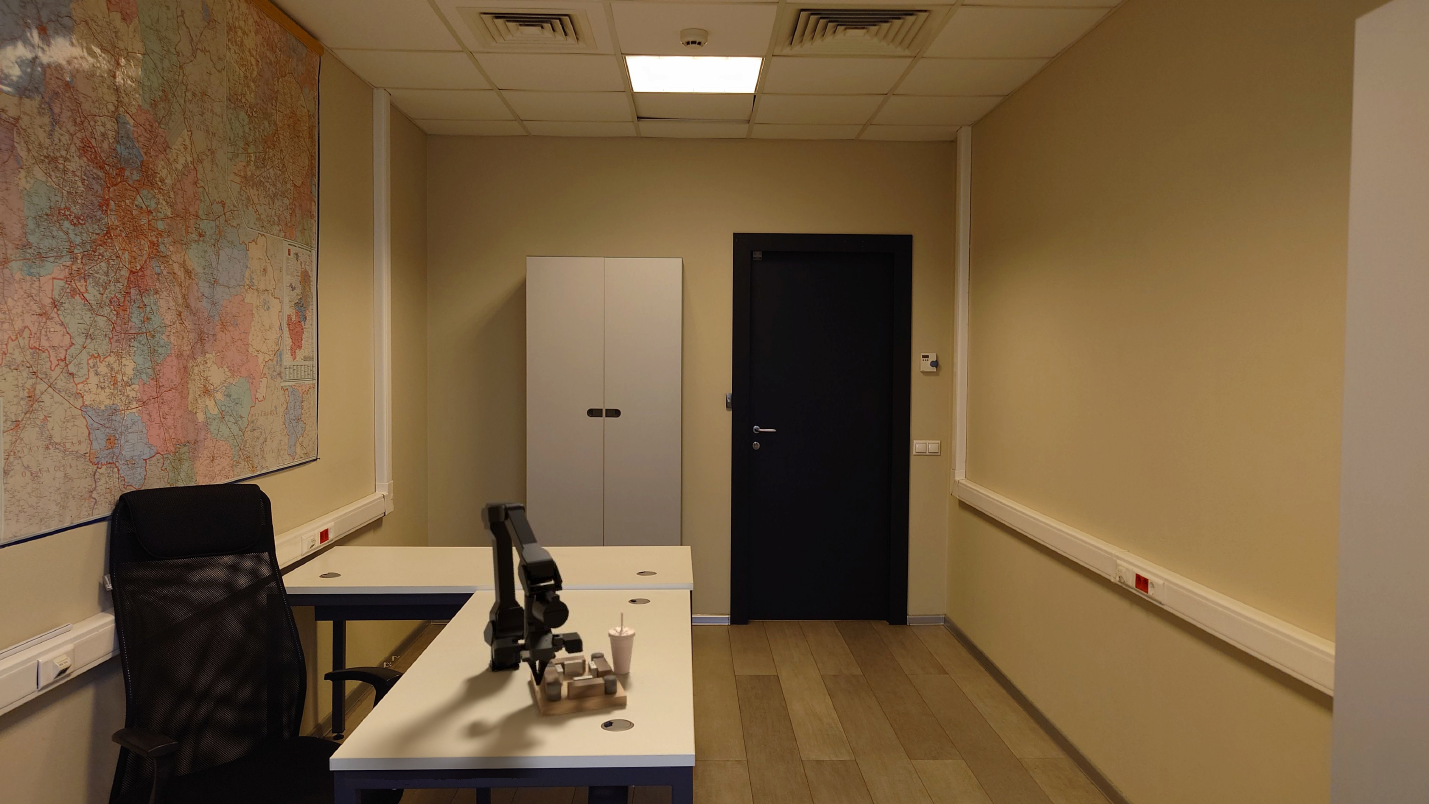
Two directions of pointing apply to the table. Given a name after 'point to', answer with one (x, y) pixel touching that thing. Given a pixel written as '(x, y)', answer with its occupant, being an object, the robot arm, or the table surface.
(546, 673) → the leg
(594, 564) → the table surface
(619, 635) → the smoothie
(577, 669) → the brackets
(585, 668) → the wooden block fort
